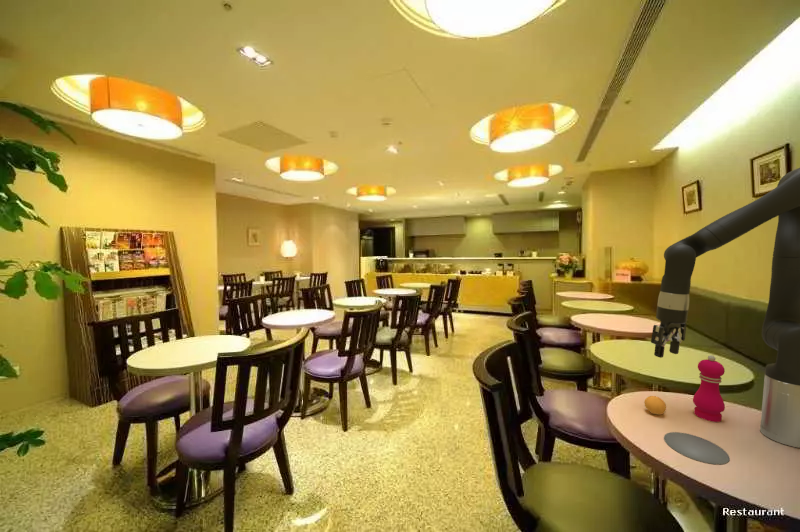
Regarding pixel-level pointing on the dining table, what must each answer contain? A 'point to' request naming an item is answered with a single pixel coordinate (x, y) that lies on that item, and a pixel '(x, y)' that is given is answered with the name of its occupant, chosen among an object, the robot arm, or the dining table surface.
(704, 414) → the pepper mill
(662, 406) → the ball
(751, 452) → the dining table surface
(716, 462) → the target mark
